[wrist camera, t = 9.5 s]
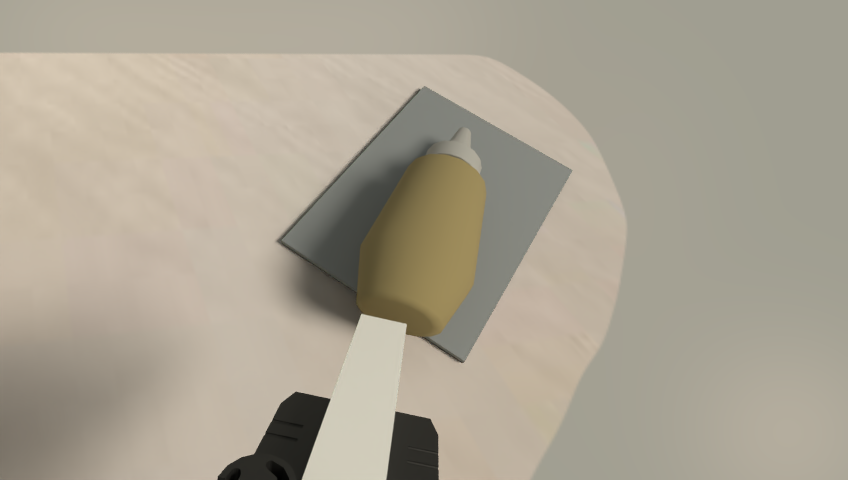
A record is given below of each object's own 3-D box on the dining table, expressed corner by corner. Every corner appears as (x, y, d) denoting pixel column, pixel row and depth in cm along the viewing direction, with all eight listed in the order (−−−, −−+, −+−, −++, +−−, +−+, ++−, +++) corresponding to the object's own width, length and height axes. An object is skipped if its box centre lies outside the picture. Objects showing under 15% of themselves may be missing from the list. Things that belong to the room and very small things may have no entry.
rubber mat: (282, 243, 34) (281, 240, 33) (423, 90, 43) (424, 86, 42) (462, 362, 31) (464, 361, 31) (569, 174, 41) (572, 170, 40)
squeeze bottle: (352, 266, 23) (439, 74, 33) (328, 312, 30) (407, 141, 40) (483, 325, 24) (530, 122, 34) (432, 357, 31) (483, 179, 41)
